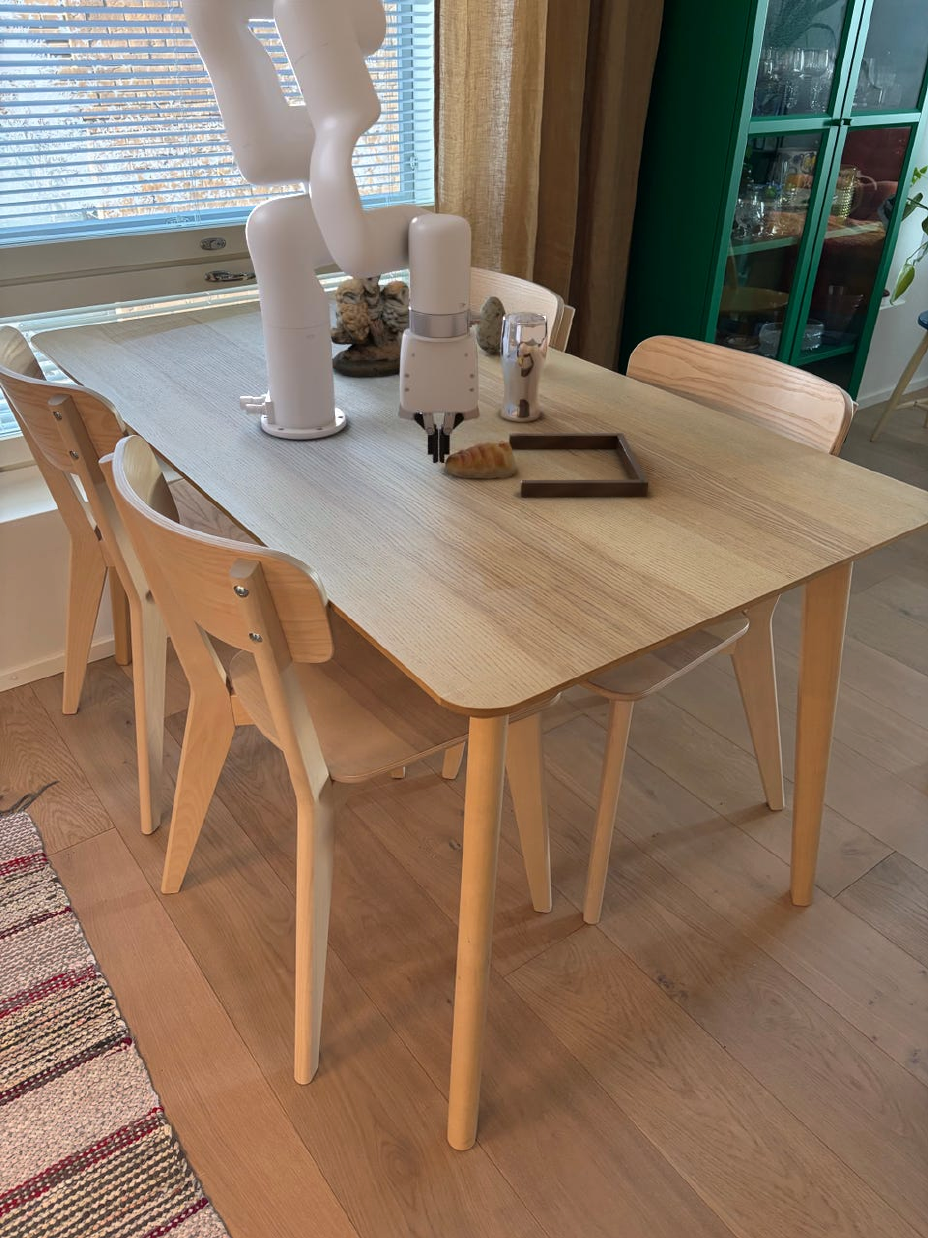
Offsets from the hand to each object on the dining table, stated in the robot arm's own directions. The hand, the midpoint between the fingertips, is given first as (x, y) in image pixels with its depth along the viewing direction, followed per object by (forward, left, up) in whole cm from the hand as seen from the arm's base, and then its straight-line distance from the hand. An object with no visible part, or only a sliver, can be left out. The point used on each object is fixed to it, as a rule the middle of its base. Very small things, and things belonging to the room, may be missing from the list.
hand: (438, 459), depth 129 cm
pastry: (+6, 0, -2) cm, 7 cm away
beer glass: (+13, +21, -2) cm, 25 cm away
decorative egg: (+11, +53, -2) cm, 54 cm away
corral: (+18, 0, -2) cm, 18 cm away
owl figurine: (-10, +45, -2) cm, 46 cm away
